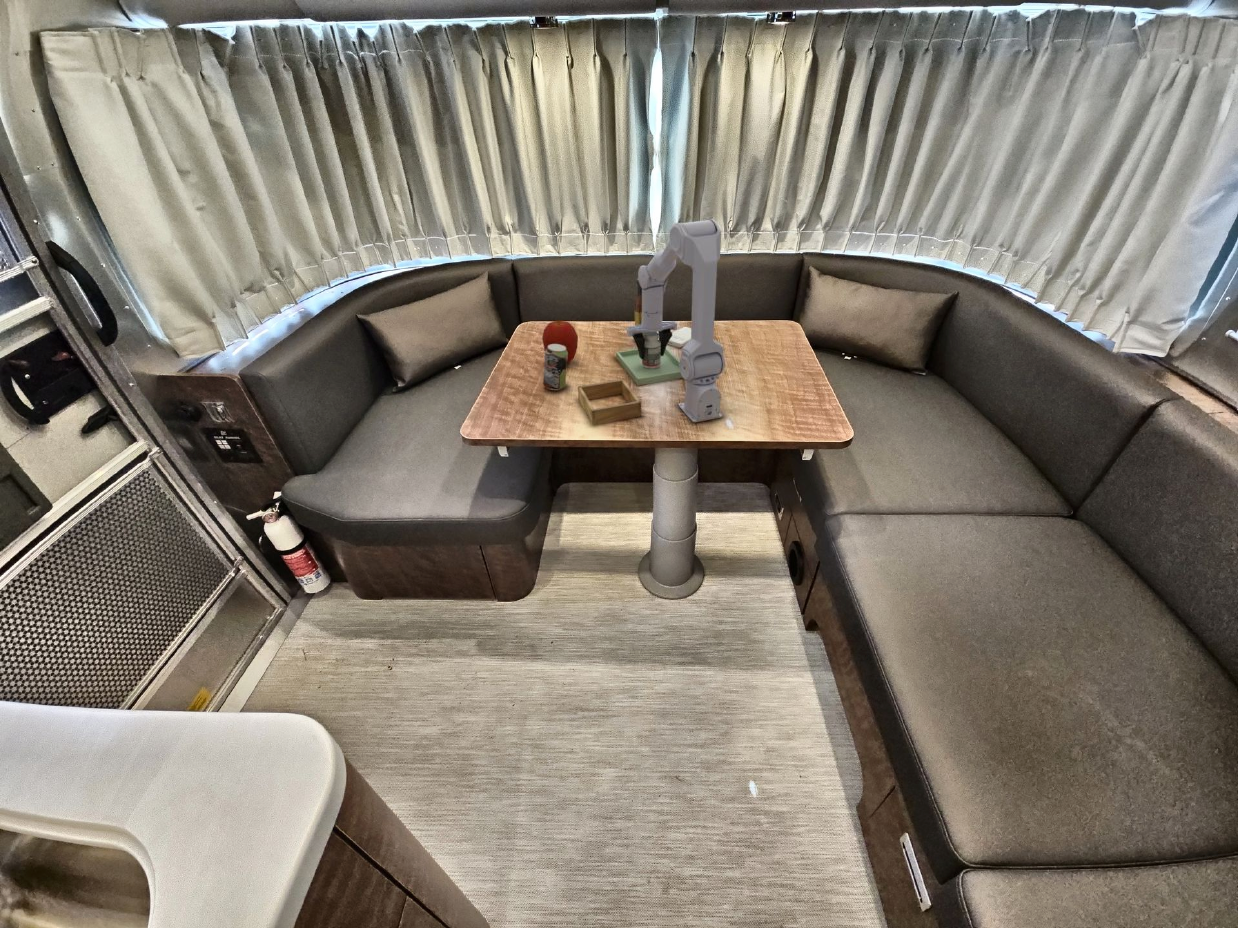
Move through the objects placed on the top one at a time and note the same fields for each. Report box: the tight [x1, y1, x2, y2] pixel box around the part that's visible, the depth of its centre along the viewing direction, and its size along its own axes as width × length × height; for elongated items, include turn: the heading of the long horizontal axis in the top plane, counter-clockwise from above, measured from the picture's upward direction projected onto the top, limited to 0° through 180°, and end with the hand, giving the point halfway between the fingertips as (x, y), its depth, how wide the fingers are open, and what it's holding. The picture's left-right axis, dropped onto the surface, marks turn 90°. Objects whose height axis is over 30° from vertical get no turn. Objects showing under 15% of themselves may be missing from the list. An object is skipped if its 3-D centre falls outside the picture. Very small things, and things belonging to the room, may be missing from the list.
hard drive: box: [667, 326, 691, 349], centre depth 172 cm, size 2×8×12 cm
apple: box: [541, 319, 579, 365], centre depth 156 cm, size 10×10×14 cm
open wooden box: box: [577, 378, 642, 426], centre depth 136 cm, size 14×13×4 cm
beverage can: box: [542, 344, 568, 391], centre depth 143 cm, size 6×7×12 cm
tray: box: [615, 347, 684, 386], centre depth 156 cm, size 20×16×2 cm
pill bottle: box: [642, 332, 661, 369], centre depth 153 cm, size 5×5×10 cm
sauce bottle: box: [633, 278, 644, 337], centre depth 166 cm, size 7×6×20 cm
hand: (651, 356), depth 154 cm, fingers open, 5 cm apart
